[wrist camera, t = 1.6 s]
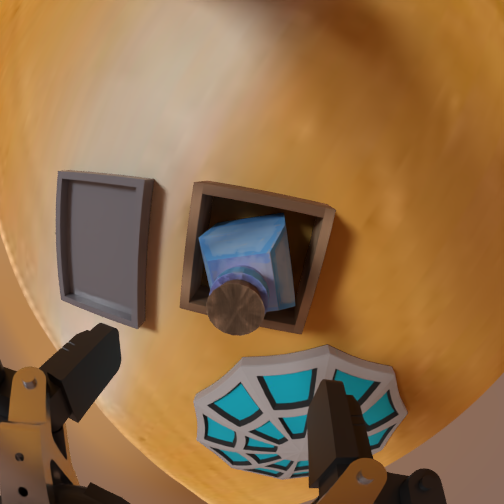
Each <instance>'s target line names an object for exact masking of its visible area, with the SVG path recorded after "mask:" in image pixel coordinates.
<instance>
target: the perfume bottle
mask: <svg viewBox="0 0 504 504" xmlns="http://www.w3.org/2000/svg"><path fill="white" fill-rule="evenodd" d="M199 242H200V247H201V252H202V256H203V261H204V265H205V270H206V274H207V278H208V283H209V287H210V293H209V297H208V300H207V303H206V310H207V315H208V317H209V319H210V321H211V322H212V323H213V325H214V326H215V327H216V328H218V329H219V330H221V331H222V332H224V333H227V334H230V335H245V334H249V333H251V332H253V331H255V330H256V329H257V328H258V327H259V326H260V325H261V324H262V321H263V319H264V316H265V314H266V312H269V311H278V310H282V309H286V308H290V307H294V306H296V305H295V294H294V283H293V273H292V266H291V258H290V251H289V243H288V236H287V229H286V223H285V216H284V213H277V214H270V215H264V216H257V217H250V218H244V219H237V220H231V221H225V222H219V223H217V224H215V225H214V226H213V227H211V228H210V229H209V230H208V231H206V232H205V233H204V234H202V235H201V236H200V237H199Z"/></svg>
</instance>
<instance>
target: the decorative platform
mask: <svg viewBox="0 0 504 504" xmlns="http://www.w3.org/2000/svg"><path fill="white" fill-rule="evenodd" d="M323 379H327V380H336V381H342V382H343V384H344V388H345V392H346V395H353V396H354V397H355V399H356V400H357V401H358V403H359V404H360V407H361V410H362V414H363V416H362V417H363V418H364V422H365V425H364V426H366V430H367V434H368V439H369V443H370V447H371V452H372V455H373V454H375V453H377V452H379V451H381V450H382V449H383V448H384V446H385V444H386V443H387V441H388V439H389V438H390V436H391V435H392V433H393V432H394V431H395V429H396V428H397V427H398V425H399V424H400V423H401V421H402V420H403V419H404V418H405V416H406V415H407V414H408V412H407V409H406V407H405V405H404V403H403V401H402V400H401V398H400V395H399V391H398V387H397V382H396V376H395V373H394V371H393V368H392V367H391V366H387V365H382V364H377V363H373V362H369V361H366V360H362V359H359V358H356V357H354V356H351V355H349V354H346V353H344V352H342V351H340V350H338V349H336V348H333V347H331V346H329V345H324V346H321V347H317V348H313V349H309V350H305V351H300V352H295V353H290V354H283V355H274V356H260V357H243V358H242V359H241V360H240V361H239V362H238V363H237V364H236V365H235V366H234V367H233V368H232V369H231V370H230V371H229V372H228V373H226V374H225V375H224V376H223V377H222V378H221V379H219V380H218V381H217V382H215V383H214V384H212V385H211V386H209V387H207V388H206V389H204V390H202V391H200V392H199V393H197V394H196V396H195V399H194V401H193V402H194V406H195V411H196V416H197V424H198V430H197V441H198V442H200V443H201V444H203V445H204V446H205V447H207V448H208V449H209V450H211V451H212V452H214V453H215V454H216V455H217V456H219V457H220V458H221V459H222V460H223V461H225V462H226V463H227V464H228V465H229V466H230V467H231V468H234V469H239V470H243V471H248V472H252V473H257V474H261V475H265V476H270V477H274V478H278V479H282V480H283V479H292V478H300V477H308V476H309V465H308V436H307V413H308V408H309V405H310V403H311V401H312V399H313V397H314V395H315V393H316V391H317V389H318V387H319V384H320V382H321V381H322V380H323Z"/></svg>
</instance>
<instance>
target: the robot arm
mask: <svg viewBox="0 0 504 504" xmlns="http://www.w3.org/2000/svg"><path fill="white" fill-rule="evenodd" d="M120 364H121V351H120V341H119V332H118V330H117V329H116V328H114V327H111V326H108V325H106V324H103V323H99V324H97V325H96V326H95V327H94V328H93V329H92V330H91V331H88V330H86V331H84V332H81V333H79V334H76V335H75V336H74V337H73V338H72V339H71V340H70V341H69V343H66V344H65V345H64V346H63V348H61V349H60V350H58V351H57V352H56V353H55V354H54V355H53V356H52V357H51V358H50V359H49V360H47V361H46V362H45V363H44V364H43V365H42V366H41V367H40V368H39V369H38V368H36V367H25V368H22V369H20V370H19V371H14V370H11V369H8V368H5V367H3V366H2V363H1V361H0V490H1V496H0V504H130V503H129V502H127V501H126V500H124V499H123V498H121V497H119V496H117V495H115V494H113V493H111V492H109V491H107V490H104V489H103V488H100V487H99V486H97V485H95V484H93V483H90V484H89V486H88V487H83V486H80V485H79V482H78V479H77V476H76V474H75V471H74V469H73V467H72V463H71V458H70V452H69V445H68V438H67V430H66V424H65V421H66V420H67V419H68V418H70V419H72V420H74V421H76V422H79V421H80V420H81V418H82V417H83V416H84V414H85V413H86V412H87V410H88V409H89V408H90V406H91V405H92V404H93V402H94V401H95V400H96V399H97V397H98V396H99V395H100V393H101V392H102V391H103V389H104V388H105V387H106V386H107V384H108V383H109V382H110V380H111V379H112V378H113V376H114V375H115V374H116V373H117V371H118V370H119V367H120ZM362 416H363V414H362V410H361V407H360V404H359V403H358V401H357V400H356V399H355V397H354V396H353V395H346V392H345V388H344V384H343V382H342V381H336V380H327V379H323V380H322V381H321V382H320V384H319V387H318V389H317V391H316V393H315V395H314V397H313V399H312V401H311V403H310V405H309V408H308V413H307V436H308V465H309V488H319V496H318V497H317V498H316V499H315V500H314V501H313V502H312V503H311V504H447V503H446V499H445V495H444V491H443V487H442V483H441V480H440V478H439V476H438V475H437V474H436V473H435V472H434V471H432V470H430V469H419V470H416V471H415V472H414V473H412V474H411V475H410V476H405V475H399V474H393V473H389V472H386V469H385V468H384V466H383V465H382V464H381V463H380V462H378V461H376V460H374V459H373V456H372V452H371V447H370V443H369V439H368V434H367V430H366V426H364V425H365V422H364V418H363V417H362Z"/></svg>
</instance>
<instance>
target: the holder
mask: <svg viewBox="0 0 504 504" xmlns="http://www.w3.org/2000/svg"><path fill="white" fill-rule="evenodd" d="M213 196H218V197H223V198H229V199H234V200H240V201H245V202H250V203H256V204H261V205H266V206H271V207H276V208H280V209H285V210H290V211H295V212H299V213H304V214H309V215H313V216H316V218H315V222H314V227H313V231H312V235H311V240H310V244H309V248H308V252H307V256H306V260H305V264H304V268H303V272H302V276H301V280H300V283H299V287H298V291H297V295H296V298H295V305H296V306H294V307H290V308H286V309H282V310H278V311H269V312H266V314H265V316H264V319H263V321H262V324H261V325H260V327H265V328H270V329H275V330H280V331H285V332H291V333H297V334H302V331H303V328H304V325H305V322H306V319H307V316H308V312H309V309H310V306H311V303H312V299H313V296H314V292H315V289H316V285H317V282H318V278H319V275H320V271H321V268H322V264H323V260H324V256H325V252H326V249H327V245H328V241H329V237H330V233H331V229H332V224H333V220H334V216H335V212H336V210H335V209H334V208H332V207H331V206H329V205H328V204H324V203H319V202H315V201H310V200H306V199H301V198H297V197H292V196H287V195H282V194H278V193H273V192H268V191H262V190H257V189H252V188H246V187H241V186H235V185H230V184H224V183H218V182H212V181H201V182H194V185H193V192H192V199H191V206H190V213H189V221H188V229H187V237H186V246H185V255H184V264H183V275H182V286H181V298H180V308H182V309H186V310H190V311H194V312H198V313H202V314H206V315H207V310H206V303H207V300H208V297H209V293H210V287H207V286H203V285H201V281H202V273H203V265H204V261H203V256H202V252H201V247H200V242H199V237H200V236H201V235H202V234H204V233H205V232H206V231H208V228H209V221H210V215H211V208H212V202H213Z"/></svg>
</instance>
